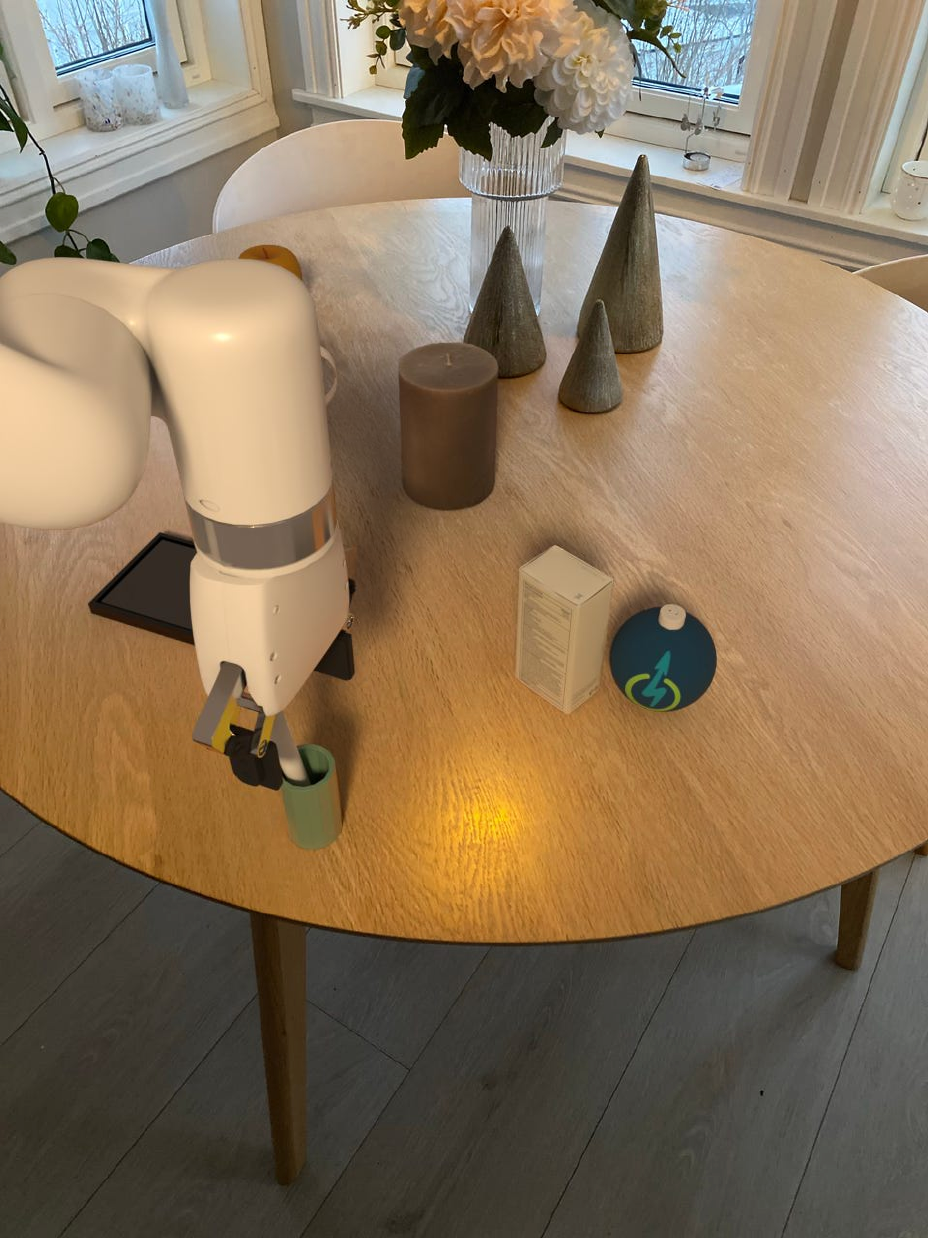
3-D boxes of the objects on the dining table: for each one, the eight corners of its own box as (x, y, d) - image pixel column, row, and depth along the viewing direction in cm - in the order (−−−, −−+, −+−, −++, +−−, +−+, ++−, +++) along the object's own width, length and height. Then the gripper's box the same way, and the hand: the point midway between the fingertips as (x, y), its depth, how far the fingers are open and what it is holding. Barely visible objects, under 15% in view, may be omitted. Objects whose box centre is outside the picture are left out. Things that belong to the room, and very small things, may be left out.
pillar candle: (485, 517, 96) (490, 383, 86) (391, 504, 98) (384, 371, 87) (501, 463, 103) (508, 333, 93) (413, 451, 105) (410, 323, 94)
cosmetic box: (601, 690, 80) (619, 580, 71) (565, 718, 77) (580, 608, 69) (545, 651, 83) (556, 541, 74) (509, 677, 81) (516, 567, 72)
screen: (101, 603, 85) (100, 601, 85) (162, 541, 92) (162, 539, 91) (242, 647, 82) (242, 644, 81) (296, 579, 88) (295, 577, 88)
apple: (291, 293, 132) (283, 229, 126) (316, 318, 127) (310, 252, 121) (232, 307, 129) (221, 241, 123) (255, 333, 124) (246, 266, 118)
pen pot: (276, 840, 69) (263, 780, 64) (303, 796, 71) (293, 736, 67) (326, 858, 68) (317, 799, 63) (351, 813, 70) (345, 753, 66)
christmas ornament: (583, 696, 79) (596, 607, 72) (641, 643, 84) (658, 555, 77) (669, 750, 75) (692, 662, 68) (725, 691, 80) (751, 603, 73)
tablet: (90, 613, 85) (87, 603, 85) (162, 541, 93) (159, 531, 92) (247, 662, 81) (245, 652, 80) (308, 582, 89) (307, 573, 88)
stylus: (301, 828, 69) (247, 694, 60) (310, 813, 70) (258, 679, 61) (318, 832, 68) (266, 699, 59) (327, 817, 69) (277, 683, 60)
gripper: (281, 413, 57) (309, 622, 68) (99, 595, 45) (170, 809, 57) (397, 440, 55) (405, 650, 67) (238, 638, 43) (282, 850, 55)
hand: (297, 723), depth 62 cm, fingers open, 9 cm apart
